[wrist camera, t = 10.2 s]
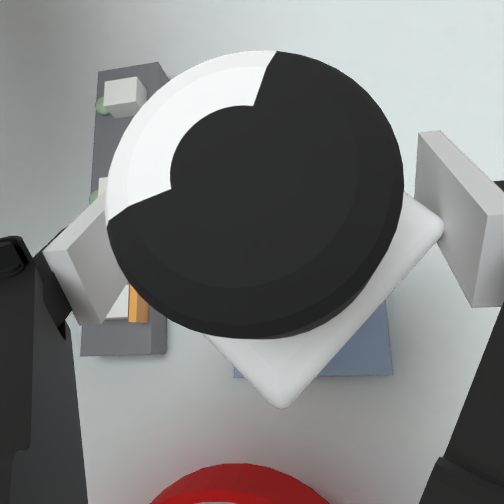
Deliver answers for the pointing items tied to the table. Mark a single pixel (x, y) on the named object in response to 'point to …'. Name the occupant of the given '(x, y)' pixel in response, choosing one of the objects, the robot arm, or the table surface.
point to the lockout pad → (361, 350)
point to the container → (265, 212)
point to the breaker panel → (100, 169)
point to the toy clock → (238, 487)
